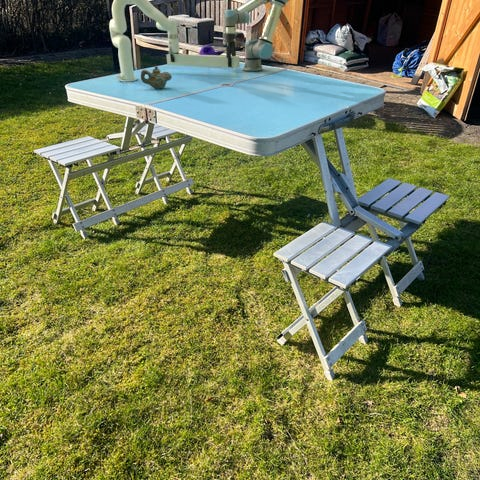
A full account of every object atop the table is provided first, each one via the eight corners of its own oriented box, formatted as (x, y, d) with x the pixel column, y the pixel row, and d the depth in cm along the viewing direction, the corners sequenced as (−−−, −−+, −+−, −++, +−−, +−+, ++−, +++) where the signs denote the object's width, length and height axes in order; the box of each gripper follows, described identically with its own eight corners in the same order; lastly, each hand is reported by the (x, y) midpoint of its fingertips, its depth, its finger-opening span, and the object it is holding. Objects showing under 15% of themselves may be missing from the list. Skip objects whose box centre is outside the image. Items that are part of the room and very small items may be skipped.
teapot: (171, 85, 322) (169, 63, 314) (174, 88, 312) (172, 66, 305) (141, 88, 316) (138, 65, 309) (143, 91, 307) (140, 68, 299)
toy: (209, 67, 381) (200, 66, 405) (227, 60, 385) (217, 60, 408) (203, 48, 374) (194, 48, 397) (222, 41, 377) (212, 42, 401)
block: (167, 65, 359) (166, 54, 355) (170, 63, 364) (169, 53, 360) (236, 68, 340) (236, 57, 336) (239, 66, 345) (239, 56, 341)
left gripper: (171, 38, 341) (173, 63, 351) (182, 35, 355) (184, 59, 364) (163, 37, 344) (165, 62, 353) (173, 35, 358) (175, 59, 367)
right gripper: (230, 34, 323) (231, 68, 335) (240, 32, 339) (240, 64, 350) (220, 34, 326) (222, 68, 337) (230, 31, 341) (231, 64, 353)
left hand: (174, 61), depth 359 cm, fingers closed on block, 6 cm apart
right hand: (231, 66), depth 344 cm, fingers closed on block, 6 cm apart
